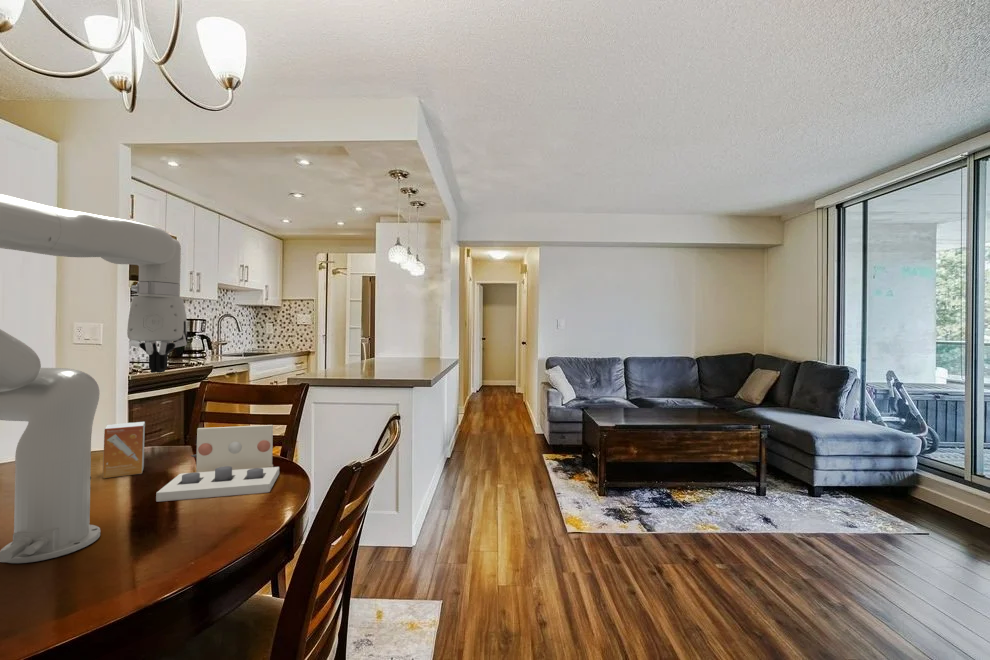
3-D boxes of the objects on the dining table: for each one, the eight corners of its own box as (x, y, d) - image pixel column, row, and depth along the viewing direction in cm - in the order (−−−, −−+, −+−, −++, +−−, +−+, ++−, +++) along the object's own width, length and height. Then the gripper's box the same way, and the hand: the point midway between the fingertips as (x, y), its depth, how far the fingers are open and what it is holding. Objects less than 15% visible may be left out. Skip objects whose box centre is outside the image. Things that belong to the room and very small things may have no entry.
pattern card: (270, 472, 120) (271, 426, 120) (194, 478, 115) (195, 430, 115) (273, 468, 124) (273, 423, 124) (199, 473, 119) (200, 426, 119)
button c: (261, 484, 110) (261, 471, 110) (245, 485, 109) (245, 473, 109) (264, 479, 113) (264, 467, 113) (248, 480, 112) (248, 468, 112)
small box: (102, 479, 113) (103, 428, 113) (105, 472, 118) (106, 424, 118) (142, 473, 118) (143, 425, 118) (144, 467, 123) (145, 421, 123)
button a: (196, 489, 106) (196, 476, 106) (179, 490, 105) (179, 477, 105) (201, 484, 109) (201, 472, 109) (184, 485, 108) (185, 473, 108)
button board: (269, 492, 106) (269, 483, 106) (156, 501, 99) (156, 492, 99) (279, 474, 119) (279, 466, 119) (180, 481, 112) (180, 473, 112)
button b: (229, 482, 108) (229, 470, 108) (212, 483, 107) (213, 471, 107) (233, 477, 111) (233, 465, 111) (217, 478, 110) (217, 466, 110)
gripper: (110, 288, 94) (109, 374, 94) (191, 291, 99) (190, 373, 99) (128, 291, 101) (126, 371, 101) (203, 294, 106) (201, 370, 106)
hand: (158, 372), depth 100 cm, fingers closed
